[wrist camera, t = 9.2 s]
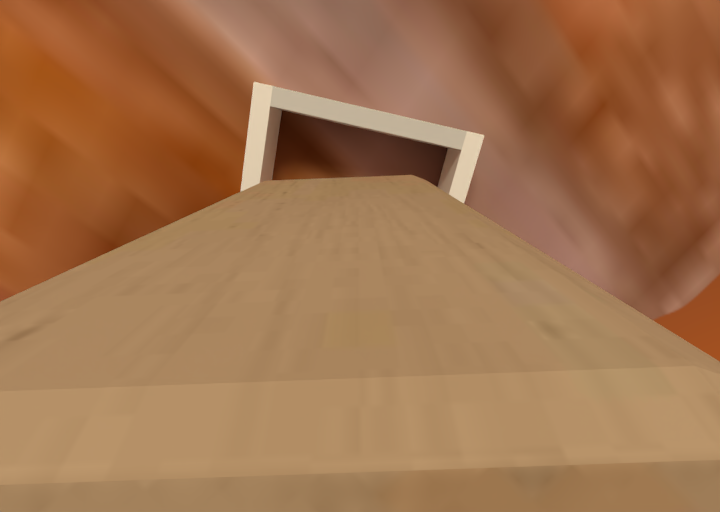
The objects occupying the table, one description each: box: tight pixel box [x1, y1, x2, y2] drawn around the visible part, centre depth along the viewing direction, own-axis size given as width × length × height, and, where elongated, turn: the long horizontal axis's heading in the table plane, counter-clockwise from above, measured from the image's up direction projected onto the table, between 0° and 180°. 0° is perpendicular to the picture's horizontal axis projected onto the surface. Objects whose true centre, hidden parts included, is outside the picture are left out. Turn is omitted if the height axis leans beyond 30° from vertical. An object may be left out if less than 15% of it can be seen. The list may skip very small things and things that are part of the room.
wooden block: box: [0, 175, 720, 512], centre depth 13 cm, size 10×10×20 cm
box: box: [241, 82, 484, 203], centre depth 36 cm, size 19×19×5 cm
